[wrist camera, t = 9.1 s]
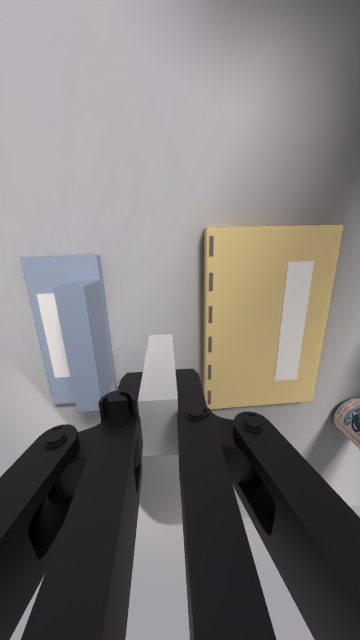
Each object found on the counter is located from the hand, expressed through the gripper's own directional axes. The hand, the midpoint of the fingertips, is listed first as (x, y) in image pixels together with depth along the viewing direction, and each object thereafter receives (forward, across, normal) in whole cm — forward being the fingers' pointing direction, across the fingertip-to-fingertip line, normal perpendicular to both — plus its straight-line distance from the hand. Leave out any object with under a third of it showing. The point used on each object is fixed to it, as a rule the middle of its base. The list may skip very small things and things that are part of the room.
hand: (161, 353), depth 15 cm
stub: (+7, -8, -1) cm, 11 cm away
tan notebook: (+7, +10, -1) cm, 12 cm away
